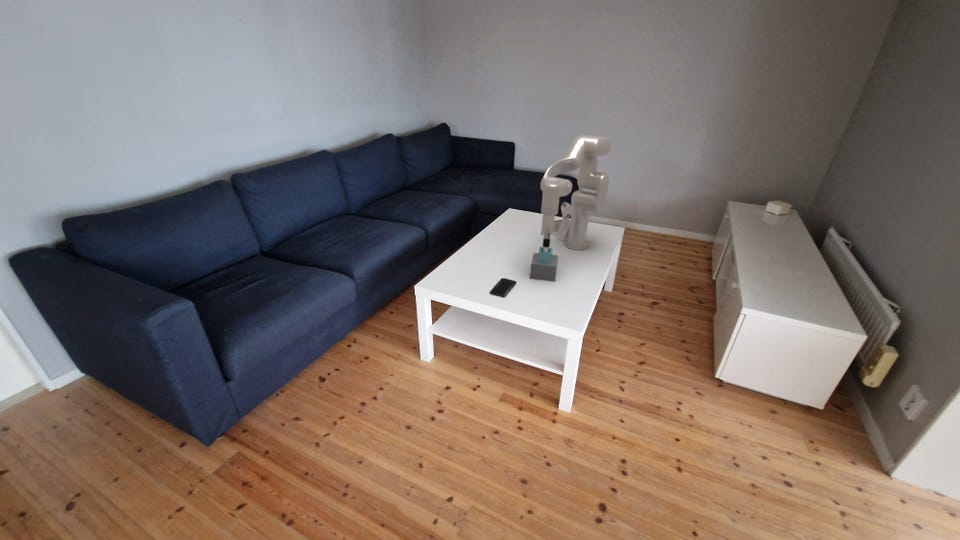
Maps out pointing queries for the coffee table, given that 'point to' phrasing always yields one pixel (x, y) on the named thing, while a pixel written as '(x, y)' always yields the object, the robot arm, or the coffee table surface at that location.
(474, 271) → the coffee table surface
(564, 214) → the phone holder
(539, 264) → the bearing block
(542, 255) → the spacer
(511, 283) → the phone
